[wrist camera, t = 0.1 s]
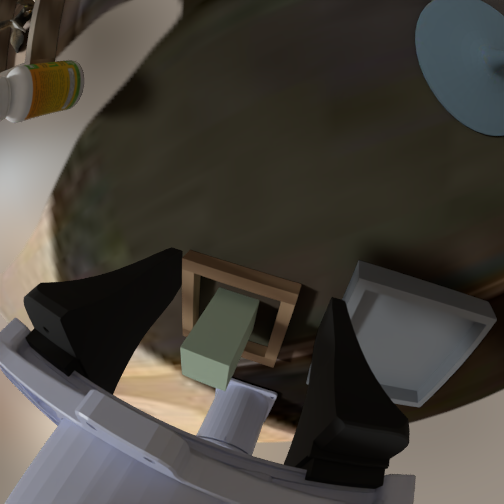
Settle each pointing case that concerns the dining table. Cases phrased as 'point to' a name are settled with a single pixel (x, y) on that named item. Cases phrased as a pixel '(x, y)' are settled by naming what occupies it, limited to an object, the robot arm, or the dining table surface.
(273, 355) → the square brown frame
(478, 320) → the tray
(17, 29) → the eagle figurine
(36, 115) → the supplement bottle
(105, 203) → the dining table surface
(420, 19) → the cocktail glass
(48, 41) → the square serving dish
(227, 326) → the green elongated block
